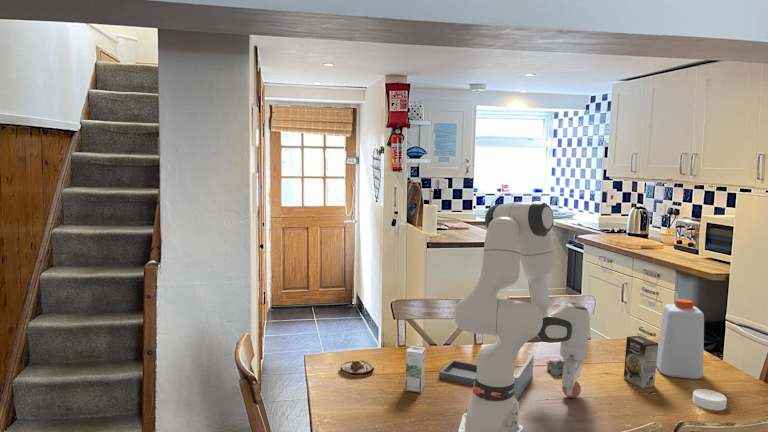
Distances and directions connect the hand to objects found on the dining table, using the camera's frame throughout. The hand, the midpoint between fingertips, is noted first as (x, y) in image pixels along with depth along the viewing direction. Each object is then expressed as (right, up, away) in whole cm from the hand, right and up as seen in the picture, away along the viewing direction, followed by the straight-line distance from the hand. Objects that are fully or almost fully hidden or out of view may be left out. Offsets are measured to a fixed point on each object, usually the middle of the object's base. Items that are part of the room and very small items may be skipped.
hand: (571, 390), depth 195 cm
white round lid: (+46, -4, -2) cm, 46 cm away
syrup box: (-53, -1, +4) cm, 53 cm away
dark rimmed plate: (-73, +1, +19) cm, 76 cm away
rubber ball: (0, +1, 0) cm, 1 cm away
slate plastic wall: (-14, -1, +8) cm, 16 cm away
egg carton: (+4, 0, +23) cm, 24 cm away
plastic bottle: (+50, -1, +26) cm, 56 cm away
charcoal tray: (-34, 0, +17) cm, 38 cm away
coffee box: (+29, -2, +15) cm, 33 cm away
